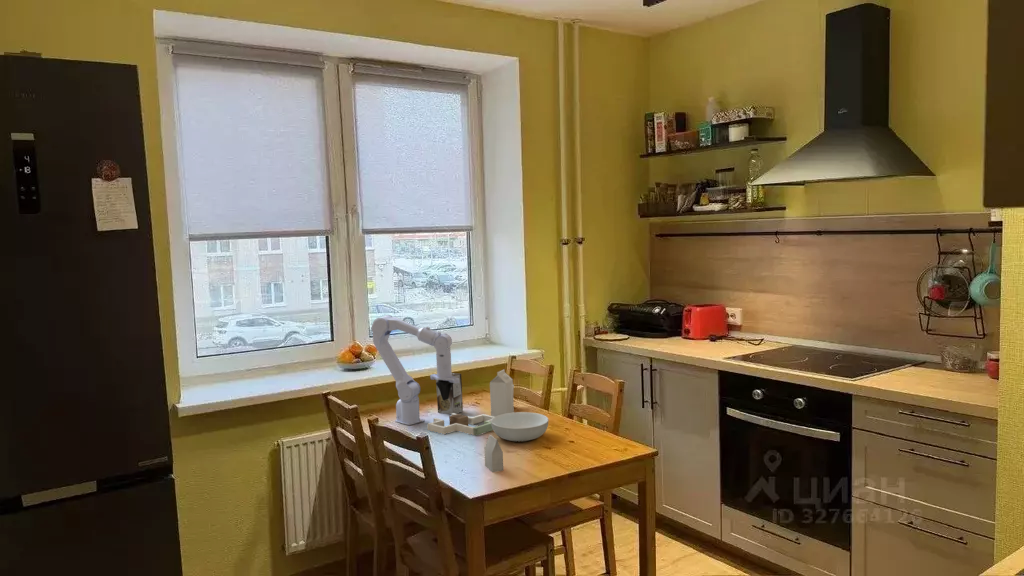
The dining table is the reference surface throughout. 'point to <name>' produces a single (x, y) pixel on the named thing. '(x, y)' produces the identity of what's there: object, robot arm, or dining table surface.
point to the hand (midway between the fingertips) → (445, 399)
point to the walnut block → (458, 419)
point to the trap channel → (480, 420)
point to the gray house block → (493, 455)
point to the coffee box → (451, 398)
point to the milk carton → (501, 394)
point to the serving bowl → (520, 426)
